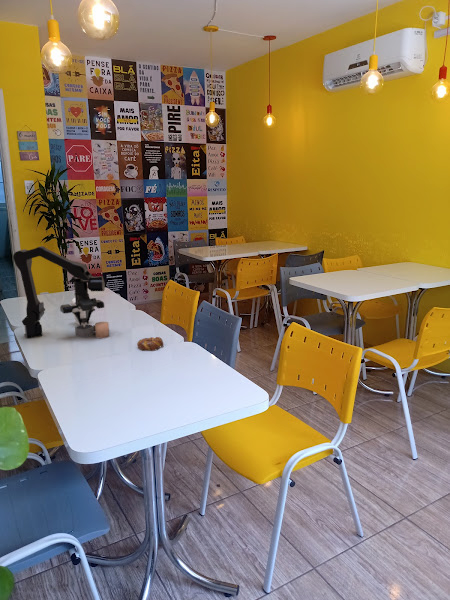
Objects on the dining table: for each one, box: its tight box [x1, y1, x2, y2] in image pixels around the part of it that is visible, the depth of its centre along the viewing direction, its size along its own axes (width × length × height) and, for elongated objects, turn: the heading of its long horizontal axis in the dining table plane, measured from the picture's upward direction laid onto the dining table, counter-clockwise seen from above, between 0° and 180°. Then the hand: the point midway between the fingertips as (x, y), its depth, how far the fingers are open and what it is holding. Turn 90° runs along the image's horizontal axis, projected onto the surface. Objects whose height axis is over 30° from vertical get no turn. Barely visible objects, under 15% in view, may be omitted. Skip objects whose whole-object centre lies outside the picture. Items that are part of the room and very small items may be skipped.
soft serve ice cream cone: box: [70, 297, 87, 326], centre depth 223 cm, size 8×8×16 cm
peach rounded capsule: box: [94, 321, 110, 339], centre depth 205 cm, size 6×6×6 cm
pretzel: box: [136, 336, 164, 351], centre depth 192 cm, size 12×11×4 cm
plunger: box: [81, 318, 87, 329], centre depth 207 cm, size 6×6×7 cm
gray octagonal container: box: [74, 324, 96, 338], centre depth 208 cm, size 10×8×4 cm
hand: (84, 324), depth 207 cm, fingers closed on plunger, 3 cm apart
